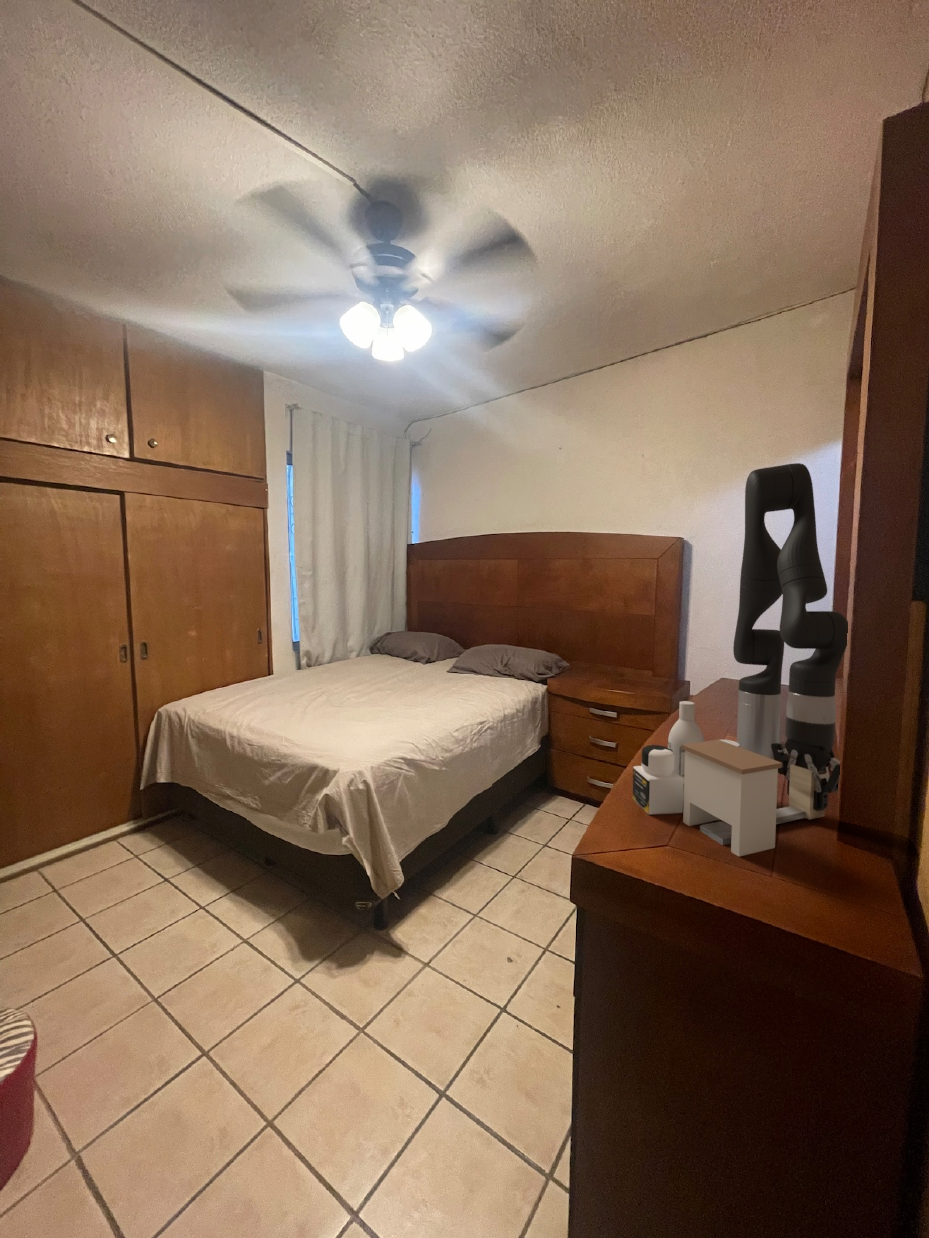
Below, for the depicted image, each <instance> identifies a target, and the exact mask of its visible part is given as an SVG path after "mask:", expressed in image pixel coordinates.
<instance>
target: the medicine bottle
mask: <svg viewBox="0 0 929 1238" xmlns="http://www.w3.org/2000/svg"><path fill="white" fill-rule="evenodd" d="M632 799H633V800H634V802H635V803H636V804H637V805H638V806H639V807H640V808H641V809H642V810H643V811H644V812H645V813H646V814H647V815H649V816H650V815H652V816H653V815H669V814H670V815H671V814H683V808H684V801H683V778H682V777H681V776H679V775H678V774H677V773H675V772H674V752H673V751H672V750H671V749H669V748H668V746H664V745H659V744H651V745H645V746H644V747H642V748H641V765H634V766H633V767H632Z"/></svg>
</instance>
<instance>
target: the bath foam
mask: <svg viewBox="0 0 929 1238" xmlns="http://www.w3.org/2000/svg"><path fill="white" fill-rule="evenodd" d="M678 708H679V710H678V713H679V715H678V716H679V717H678V719H677V721H675V723H674V724H673V725H672V728H671V729H670V731H669V733H668V739H667V748H669V749H671V750H672V751H673V752H674V772H675V773H677V774H678V775H679V776H681V777H682V778H683V802H684V769H685V750H683V749H682V745H683V744H690V743H697V742H705V737H704V734H703V732H702V729H701V728H700V727H699V725H698V723H697V722H696V721H695V716H696V715H695V711H696V709H695V708H696V704H695V702H694V701H688V700H683V701H679V707H678Z"/></svg>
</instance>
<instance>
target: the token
mask: <svg viewBox="0 0 929 1238" xmlns="http://www.w3.org/2000/svg"><path fill="white" fill-rule="evenodd" d="M699 831H700V832H701V833H703V834H705V836H707V837H709V838H710V839H711V840H713V841H715V842H717V843H718V844H719V845H722V846H726V845H731V836H732V826H731V825H730V824H728V823H726V822H724V821H722V820H721V821H716V822H709V823H704V824H699Z"/></svg>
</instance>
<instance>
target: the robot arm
mask: <svg viewBox="0 0 929 1238" xmlns="http://www.w3.org/2000/svg"><path fill="white" fill-rule="evenodd" d="M814 496H815V495H814V487H813V480H812V476H811V473H810V470H809V468H808V467H807V466H806V465H805V464H804V463H797V462H796V463H789V464H783V465H775V466H769V467H762V468H757V469H753V470H752V471H751V472H750V473H749V474H748V477H747V478H746V483H745V491H744V543H743V552H742V561H741V569H740V577H739V579H740V580H739V584H740V585H739V599H738V601H739V602H738V603H739V604H738V614H737V621H736V628H735V631H734V632H735V633H734V638H733V649H732V651H733V658H734V659H735V661H736V662H737V663H739V664H743V665H750V666H751V665H753V666H754V665H755V666H766V667H765V669H764V670H762V671H760V672H758V673H756V674H753V675H749V676H744V677H741V678H740V679H739V681H738V695H737V696H738V698H737V701H738V704H737V725H736V726H737V731H736V742H737V743H739V744H740V748H743V749H746V750H748V751H751V752H754V753H756V754H759V755H762V756H765V757H767V758H770V759H773V760H776V761H778V762H781V763H782V768H778V775H783V776H784V777H785V779H786V780H787V786H786V787H787V789H786V791H787V792H786V793H787V796H788V797H789V783H790V765H794V766H796V765H798V766H800V767H803V768H806V769H808V770H809V771H810V772H813V773H812V778H813V779H814V788H815V790H816V791H814V802H813V809H814V810H816V811H822V810H824V809H825V810H826V809H827V808H828V805H829V804H828V803H829V802H828V801H829V794H831V793H838V792H839V791H838V783H839V775H840V762H841V760H839V759H838V758H836V756H835V752H834V750H833V749H834V748H833V747H834V744H835V738H836V736H835V735H836V718H837V717H836V714H837V705H836V677H837V672H838V669H839V667H840V665H841V662H842V659H843V656H844V654H845V652H846V649H847V647H848V644H847V633H848V623H849V622H848V619H847V618H846V616H844V615H843V614H842V613H841V612H838V611H831V610H825V611H824V610H823V611H822V610H821V611H819V610H816V611H813V610H811V611H810V610H809V611H808V610H807V608H806V607H807V606H806V605H808V604H812V603H815V602H818V601H820V600H823V599H824V598H825V597H826V596H827V595H828V586H827V581H826V577H825V575H824V574H825V573H824V570H823V566H822V563H821V558H820V552H819V548H818V537H817V524H816V523H817V522H816V509H815V499H814V498H815V497H814ZM786 510H792V511H793V522H792V524H793V525H792V527H791V528H790V532H789V534H788V536H787V538H786V540H785V542H784V544H783V545H782V547H781V548H780V547H779V545H778V544H777V542H775V541H774V539H773V537H772V536H771V534H770V533H769V531H768V530H767V527H766V523H765V519H766V518H765V516H766V513H769V512H770V513H771V512H778V511H779V512H780V511H786ZM781 597H782V601H781V602H782V603H781V614H780V622H779V630H778V629H767V628H766V629H765V628H764V629H763V628H762V629H761V628H758V629H757V628H754V626H755V624H756V622H757V621H758V620H759V618H760V617H761V616H763V614H764V613H765V612H766V611H767V610H769V609H770V608H771V607H772V606H773V605H774V604H775V603H776V602H777V601H778V600H779V599H780V598H781ZM785 644H786V645H787V647H789V648H793V649H797V650H798V649H800V650H807V649H808V650H811V649H813V650H814V651H813V653H812V655H811V656H810V657H808V658H805V659H801V660H797V661H794V662H792V663H791V664H790V667H789V671H788V672H789V674H788V675H789V676H788V677H789V679H788V694H787V699H786V711H785V712H786V713H785V730H784V731H785V733H784V735H785V737H786V740H785V741H784V742H783V741H782V735H783V733H782V731H783V730H782V729H783V722H782V721H781V702H782V701H781V698H782V695H781V694H782V675H783V674H782V673H783V663H784V662H783V661H784V652H785ZM829 766H831V767H830V771H831V774H830V771H829ZM822 770H824V771H823V773H821V774H818V773H817V772H818V771H822Z"/></svg>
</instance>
